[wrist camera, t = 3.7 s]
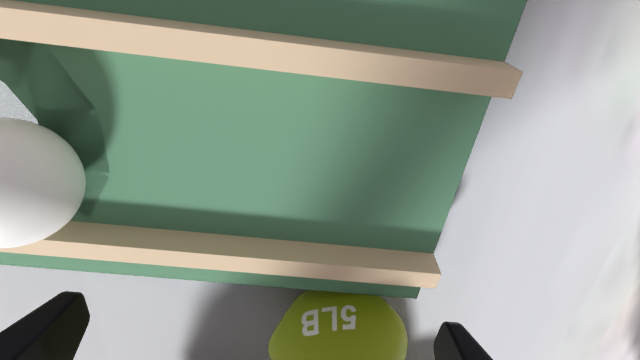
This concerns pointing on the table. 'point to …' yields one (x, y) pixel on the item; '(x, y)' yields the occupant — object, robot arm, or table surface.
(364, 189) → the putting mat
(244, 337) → the table surface
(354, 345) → the dumbbell
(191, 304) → the table surface
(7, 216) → the golf ball
